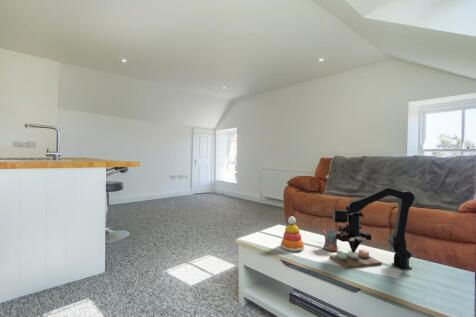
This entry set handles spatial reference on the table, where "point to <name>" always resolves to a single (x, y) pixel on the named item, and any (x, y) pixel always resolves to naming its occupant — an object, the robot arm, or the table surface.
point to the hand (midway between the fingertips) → (353, 252)
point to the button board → (355, 261)
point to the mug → (330, 240)
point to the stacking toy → (292, 237)
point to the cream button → (352, 254)
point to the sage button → (342, 255)
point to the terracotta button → (363, 253)
